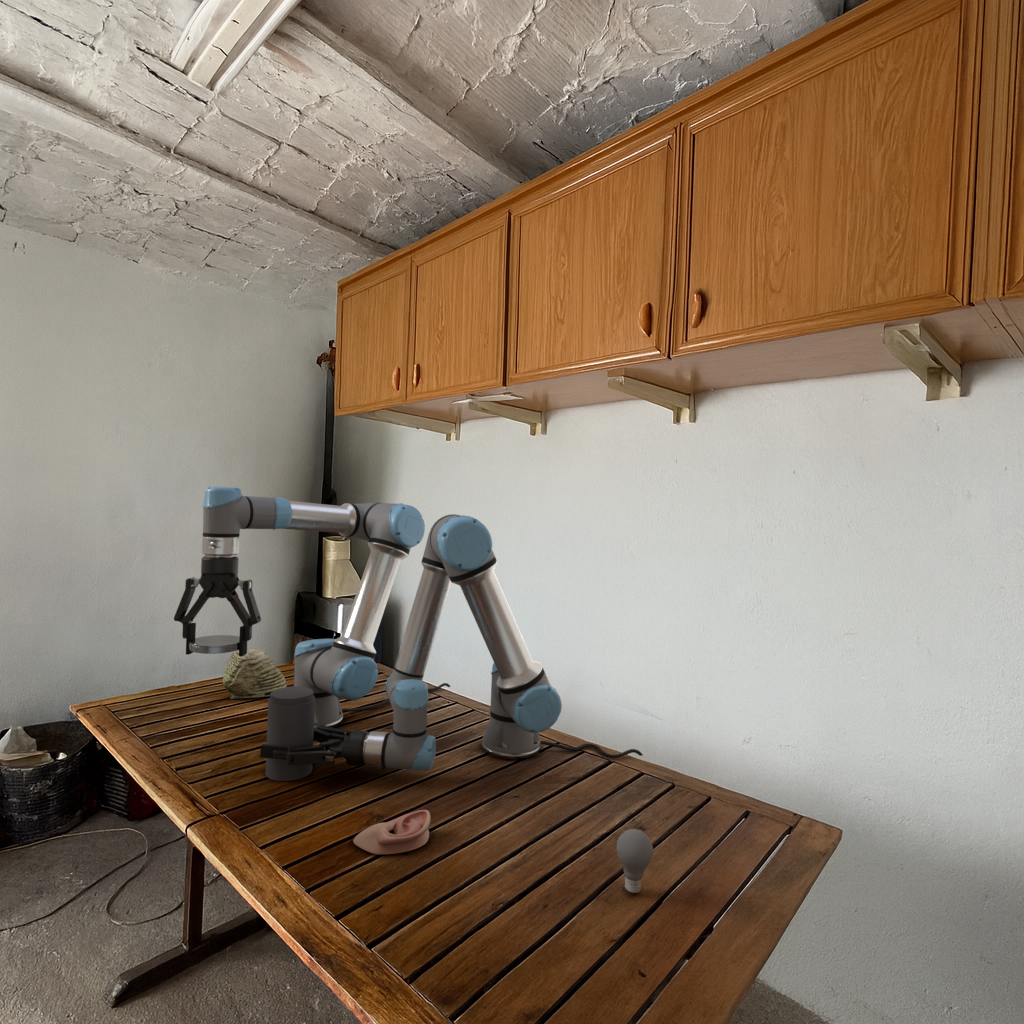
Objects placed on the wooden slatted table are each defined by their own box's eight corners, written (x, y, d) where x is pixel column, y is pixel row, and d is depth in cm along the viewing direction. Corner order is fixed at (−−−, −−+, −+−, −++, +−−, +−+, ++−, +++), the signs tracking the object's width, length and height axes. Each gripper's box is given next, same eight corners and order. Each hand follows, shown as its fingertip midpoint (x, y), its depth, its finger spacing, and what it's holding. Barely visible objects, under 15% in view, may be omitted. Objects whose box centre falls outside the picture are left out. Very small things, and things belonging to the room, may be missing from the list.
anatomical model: (346, 827, 114) (372, 798, 125) (345, 849, 114) (372, 818, 125) (416, 839, 111) (436, 808, 122) (415, 861, 111) (436, 828, 123)
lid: (224, 640, 149) (224, 632, 149) (253, 647, 143) (253, 640, 143) (179, 648, 140) (179, 640, 140) (208, 656, 134) (208, 648, 134)
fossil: (218, 695, 195) (220, 647, 195) (278, 685, 208) (279, 640, 207) (228, 703, 189) (230, 653, 188) (289, 692, 201) (290, 645, 201)
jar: (288, 759, 152) (291, 683, 152) (321, 768, 148) (324, 690, 147) (255, 775, 143) (258, 694, 142) (290, 785, 138) (293, 702, 138)
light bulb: (610, 879, 108) (613, 822, 108) (644, 879, 109) (647, 822, 109) (619, 902, 102) (622, 840, 102) (655, 901, 103) (658, 840, 103)
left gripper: (158, 554, 137) (154, 656, 137) (267, 559, 138) (263, 660, 138) (175, 552, 144) (171, 648, 145) (278, 556, 145) (275, 651, 146)
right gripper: (349, 787, 132) (247, 779, 134) (380, 745, 155) (292, 739, 157) (351, 751, 132) (248, 744, 134) (381, 715, 155) (293, 709, 157)
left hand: (216, 654), depth 141 cm, fingers closed on lid, 11 cm apart
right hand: (272, 741), depth 145 cm, fingers closed on jar, 10 cm apart
